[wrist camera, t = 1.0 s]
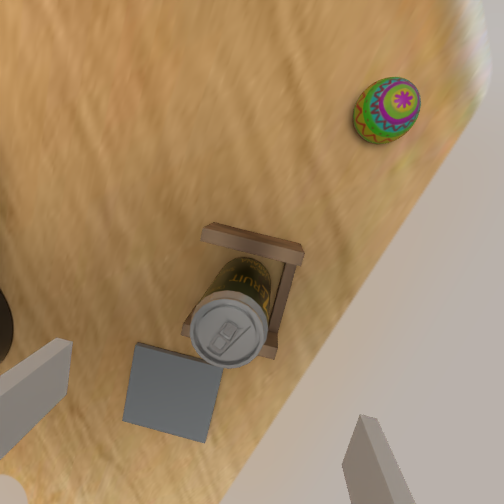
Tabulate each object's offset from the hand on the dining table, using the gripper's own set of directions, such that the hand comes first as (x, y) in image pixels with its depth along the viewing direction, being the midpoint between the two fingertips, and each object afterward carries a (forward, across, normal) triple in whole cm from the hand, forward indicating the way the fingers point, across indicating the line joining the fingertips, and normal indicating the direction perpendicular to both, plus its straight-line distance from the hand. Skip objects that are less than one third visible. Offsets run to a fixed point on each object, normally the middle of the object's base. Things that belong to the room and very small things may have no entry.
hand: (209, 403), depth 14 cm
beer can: (+19, 0, 0) cm, 19 cm away
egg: (+19, +8, +18) cm, 27 cm away
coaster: (+18, -5, -15) cm, 24 cm away
